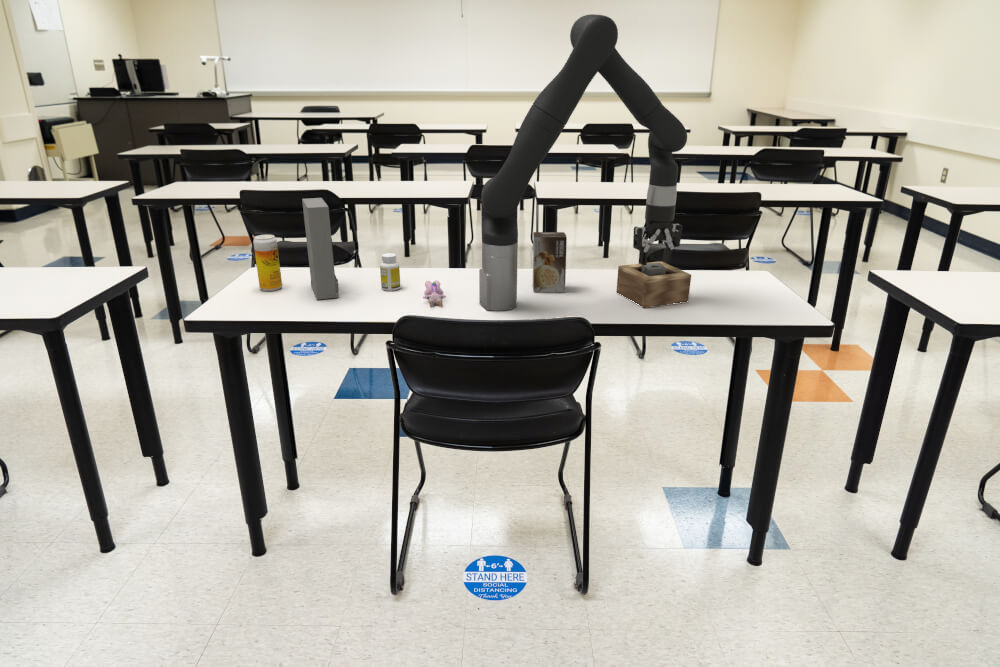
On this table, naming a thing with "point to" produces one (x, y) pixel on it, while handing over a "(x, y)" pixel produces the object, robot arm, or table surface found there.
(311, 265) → the tall notched grey box
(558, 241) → the coffee box
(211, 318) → the table surface
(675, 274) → the open wooden box
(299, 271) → the table surface
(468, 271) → the table surface
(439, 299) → the rabbit figure
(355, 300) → the table surface
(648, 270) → the dice cube
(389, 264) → the supplement bottle
